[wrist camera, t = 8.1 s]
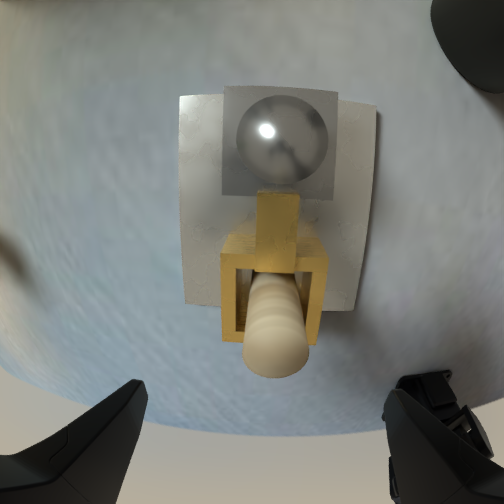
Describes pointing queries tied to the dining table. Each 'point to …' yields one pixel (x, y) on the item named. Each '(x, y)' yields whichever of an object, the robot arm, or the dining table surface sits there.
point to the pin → (274, 326)
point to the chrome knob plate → (274, 197)
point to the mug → (473, 39)
